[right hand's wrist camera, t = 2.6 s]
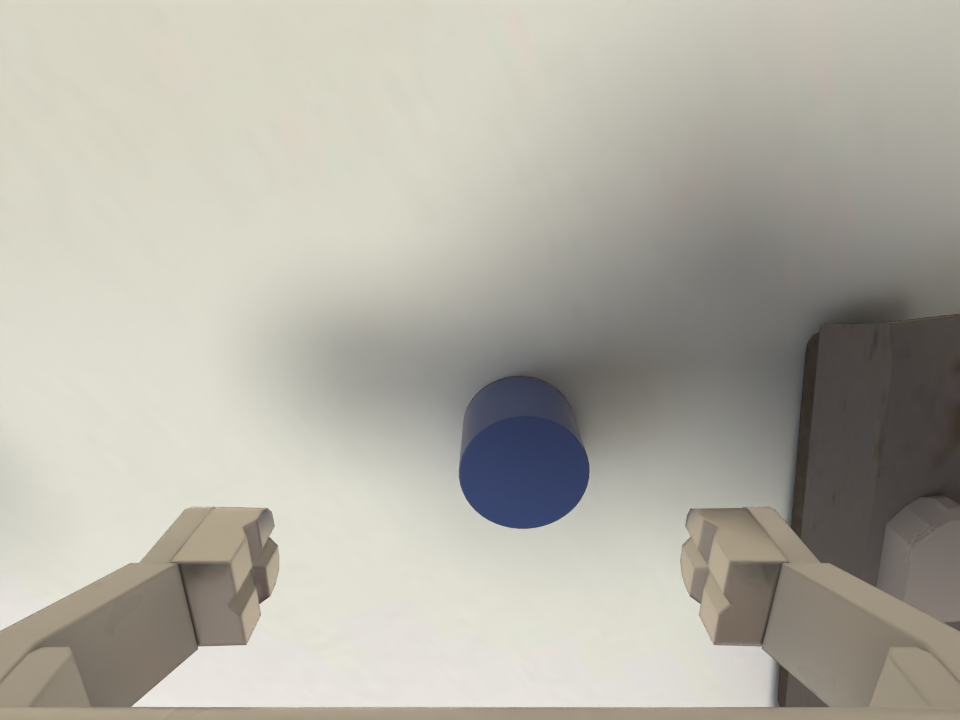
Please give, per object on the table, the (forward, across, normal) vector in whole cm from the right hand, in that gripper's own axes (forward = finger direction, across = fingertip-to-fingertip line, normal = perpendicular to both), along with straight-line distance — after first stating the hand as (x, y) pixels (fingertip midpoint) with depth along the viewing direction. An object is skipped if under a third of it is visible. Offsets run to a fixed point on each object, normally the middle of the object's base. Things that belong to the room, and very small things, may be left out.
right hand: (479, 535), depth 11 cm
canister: (+13, +2, -4) cm, 14 cm away
